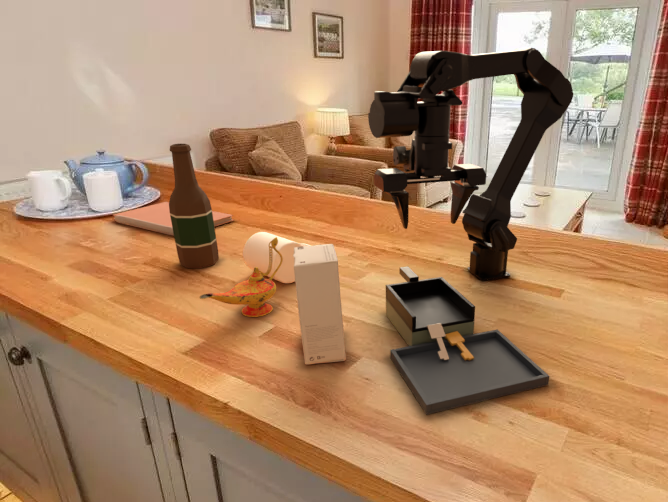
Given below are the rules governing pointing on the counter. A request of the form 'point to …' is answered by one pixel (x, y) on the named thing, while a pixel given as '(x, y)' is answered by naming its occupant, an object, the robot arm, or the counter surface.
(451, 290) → the dish
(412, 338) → the stand
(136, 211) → the notebook
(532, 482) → the counter surface
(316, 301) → the cosmetic box
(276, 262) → the mug
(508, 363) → the tray
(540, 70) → the robot arm
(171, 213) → the beer bottle
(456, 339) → the brass key
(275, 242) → the magic lamp
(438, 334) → the steel key
